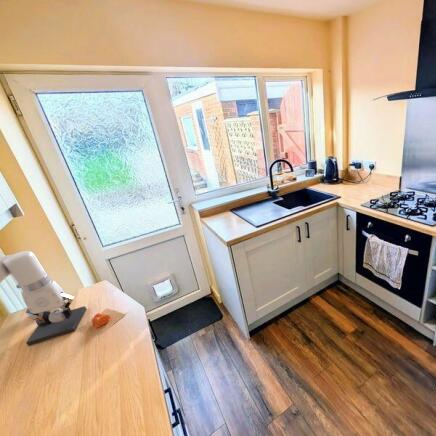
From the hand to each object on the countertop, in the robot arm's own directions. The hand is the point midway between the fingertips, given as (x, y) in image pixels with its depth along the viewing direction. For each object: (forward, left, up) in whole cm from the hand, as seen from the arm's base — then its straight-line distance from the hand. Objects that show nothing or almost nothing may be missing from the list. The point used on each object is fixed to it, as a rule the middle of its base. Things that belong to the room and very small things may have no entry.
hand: (60, 318), depth 98 cm
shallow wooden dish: (+14, -4, -5) cm, 15 cm away
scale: (-3, +2, -5) cm, 6 cm away
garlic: (0, 0, -1) cm, 1 cm away
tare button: (-8, +6, -2) cm, 10 cm away
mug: (-14, +16, -5) cm, 22 cm away
